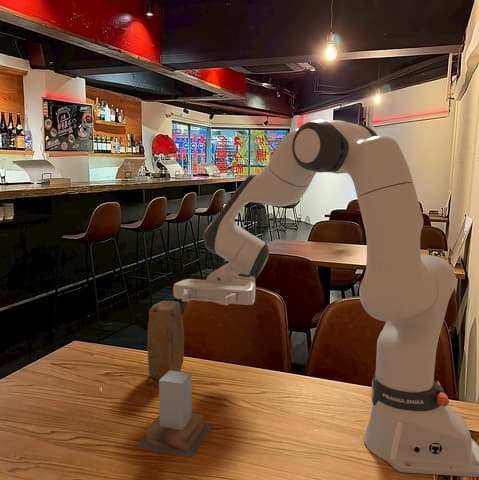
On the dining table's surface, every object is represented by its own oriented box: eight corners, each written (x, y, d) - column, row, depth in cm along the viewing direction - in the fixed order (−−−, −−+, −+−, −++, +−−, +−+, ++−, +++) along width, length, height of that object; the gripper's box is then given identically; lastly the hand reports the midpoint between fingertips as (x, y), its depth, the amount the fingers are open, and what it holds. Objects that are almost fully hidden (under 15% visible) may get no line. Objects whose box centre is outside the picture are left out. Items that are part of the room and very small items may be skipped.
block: (171, 383, 123) (170, 310, 120) (145, 379, 125) (143, 307, 122) (187, 367, 133) (187, 299, 130) (163, 363, 136) (162, 296, 133)
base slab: (203, 427, 102) (203, 414, 101) (187, 451, 93) (187, 437, 93) (165, 421, 104) (165, 408, 104) (146, 443, 96) (146, 429, 95)
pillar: (191, 417, 100) (191, 373, 98) (182, 430, 95) (181, 383, 94) (170, 414, 101) (169, 370, 100) (159, 426, 96) (159, 380, 95)
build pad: (212, 426, 103) (212, 425, 103) (191, 458, 91) (191, 457, 91) (162, 418, 106) (162, 416, 106) (136, 448, 95) (136, 446, 95)
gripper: (185, 271, 123) (162, 283, 110) (261, 276, 118) (246, 290, 105) (185, 294, 124) (162, 309, 111) (260, 301, 119) (245, 317, 106)
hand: (203, 300), depth 108 cm, fingers open, 8 cm apart
